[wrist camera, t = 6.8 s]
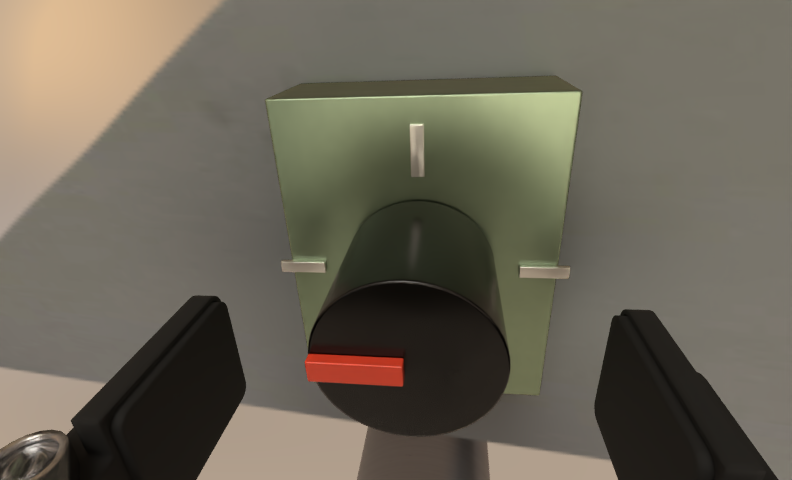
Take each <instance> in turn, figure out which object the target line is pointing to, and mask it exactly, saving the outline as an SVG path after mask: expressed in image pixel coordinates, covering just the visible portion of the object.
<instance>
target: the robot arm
mask: <svg viewBox="0 0 792 480" xmlns="http://www.w3.org/2000/svg"><path fill="white" fill-rule="evenodd" d="M245 390H246V381H245V377H244V373H243V369H242V365H241V361H240V357H239V353H238V349H237V345H236V341H235V337H234V333H233V329H232V325H231V321H230V317H229V313H228V308H227V306H226V304H225V303H224V302H221V300H220V299H219V298H218V297H216V296H193V297H191V298H190V299H189V300H188V301H187V302H186V303H185V304H184V305H183V306H182V307H181V308H180V309H179V310H178V311H177V312H176V313H175V314H174V315H173V316H172V317H171V318H170V319H169V320H168V321H167V322H166V323H165V324H164V325H163V326H162V328H161V329H160V330H159V331H158V332H157V333H156V334H155V335H154V336H153V337H152V338H151V339H150V340H149V341H148V342H147V343H146V344H145V345H144V346H143V347H142V348H141V349H140V350H139V351H138V352H137V353H136V354H135V355H134V356H133V357H132V358H131V359H130V360H129V361H128V362H127V363H126V364H125V365H124V366H123V367H122V368H121V369H120V370H119V371H118V372H117V374H116V375H115V376H114V377H113V378H112V379H111V380H110V381H109V382H108V383H107V384H106V385H105V386H104V387H103V388H102V389H101V390H100V391H99V392H98V393H97V394H96V395H95V396H94V397H93V398H92V399H91V400H90V401H89V402H88V403H87V404H86V405H85V406H84V407H83V408H82V409H81V410H80V411H79V412H78V413H77V414H76V416H75V417H74V418H72V420H71V422H72V424H73V426H74V428H73V429H72V430H71V431H70V432H69V433H68V434H67V435H65V434H64V433H63V432H61V431H56V430H46V431H39V432H35V433H32V434H29V435H26V436H24V437H22V438H19V439H17V440H15V441H13V442H11V443H9V444H8V445H6V446H5V447H3V448H2V449H0V480H196V479H197V477H198V476H199V474H200V472H201V470H202V469H203V467H204V465H205V463H206V462H207V460H208V458H209V456H210V455H211V452H212V451H213V449H214V447H215V446H216V444H217V442H218V440H219V439H220V437H221V435H222V433H223V432H224V430H225V428H226V427H227V425H228V423H229V421H230V420H231V418H232V416H233V414H234V413H235V411H236V409H237V407H238V406H239V404H240V402H241V400H242V399H243V397H244V394H245ZM595 416H596V420H597V423H598V425H599V428H600V431H601V434H602V436H603V439H604V442H605V445H606V447H607V450H608V453H609V456H610V458H611V461H612V464H613V466H614V469H615V472H616V475H617V477H618V480H778V479H777V477H776V476H775V474H774V473H773V472H772V470H771V469H770V467H769V466H768V465H767V463H766V462H765V461H764V459H763V458H762V456H761V455H760V454H759V452H758V451H757V449H756V448H755V447H754V445H753V444H752V442H751V441H750V440H749V438H748V437H747V435H746V434H745V433H744V431H743V430H742V429H741V427H740V426H739V424H738V423H737V422H736V420H735V419H734V417H733V416H732V415H731V413H730V412H729V410H728V409H727V408H726V406H725V405H724V404H723V402H722V401H721V399H720V398H719V397H718V395H717V394H716V392H715V391H714V390H713V388H712V387H711V385H710V384H709V383H708V381H707V380H706V379H705V378H704V377H703V376H702V375H701V374H700V373H698V372H696V371H695V369H694V368H693V367H692V365H691V364H690V362H689V361H688V360H687V358H686V357H685V355H684V354H683V352H682V351H681V350H680V348H679V347H678V345H677V344H676V343H675V341H674V340H673V338H672V337H671V335H670V334H669V333H668V331H667V330H666V328H665V327H664V326H663V324H662V323H661V321H660V320H659V318H658V317H657V316H656V314H655V313H654V312H653V311H651V310H626V309H625V310H623V311H622V312H621V315H620V316H614V317H613V319H612V322H611V327H610V332H609V336H608V341H607V346H606V351H605V356H604V360H603V365H602V370H601V375H600V380H599V384H598V389H597V394H596V399H595Z"/></svg>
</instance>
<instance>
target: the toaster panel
mask: <svg viewBox="0 0 792 480" xmlns="http://www.w3.org/2000/svg"><path fill="white" fill-rule="evenodd" d="M581 100H582V91H581V90H579V89H578V88H576V87H574V86H573V85H571V84H569V83H568V82H566V81H564V80H562V79H561V78H559V77H557V76H532V77H499V78H467V79H434V80H401V81H369V82H336V83H304V84H299V85H297V86H294V87H292V88H290V89H288V90H285V91H283V92H281V93H279V94H276V95H274V96H272V97H269V98H267V99H266V100H265V103H266V109H267V114H268V120H269V126H270V132H271V138H272V143H273V149H274V155H275V161H276V167H277V173H278V178H279V184H280V190H281V196H282V202H283V207H284V213H285V219H286V225H287V231H288V236H289V242H290V248H291V254H292V260H282V261H281V265H282V271H283V272H295V277H296V283H297V289H298V295H299V300H300V306H301V312H302V318H303V324H304V329H305V335H306V341H307V347H308V342H309V337H310V333H311V330H312V327H313V325H314V323H315V321H316V318H317V316H318V314H319V312H320V310H321V307H322V305H323V303H324V301H325V299H326V297H327V294H328V292H329V290H330V288H331V286H332V283H333V281H334V279H335V277H336V275H337V272H338V270H339V268H340V266H341V264H342V261H343V259H344V257H345V255H346V253H347V250H348V248H349V246H350V244H351V242H352V240H353V237H354V235H355V234H356V232H357V231H358V229H359V228H360V227H361V225H362V224H363V223H364V222H365V221H366V220H367V219H369V218H370V217H371V216H372V215H374V214H375V213H377V212H378V211H380V210H382V209H384V208H386V207H388V206H392V205H395V204H398V203H403V202H411V201H425V202H433V203H438V204H442V205H445V206H448V207H450V208H453V209H455V210H457V211H459V212H460V213H462V214H464V215H465V216H467V217H468V218H469V219H470V220H472V221H473V222H474V223H475V224H476V225H477V226H478V227H479V228H480V229H481V230H482V232H483V233H484V235H485V236H486V238H487V240H488V242H489V244H490V246H491V249H492V252H493V255H494V261H495V267H496V274H497V280H498V286H499V292H500V298H501V304H502V310H503V316H504V323H505V329H506V335H507V341H508V347H509V353H510V359H511V370H510V376H509V381H508V384H507V386H506V389H505V391H504V394H521V395H539V394H540V387H541V380H542V373H543V366H544V359H545V352H546V345H547V338H548V331H549V324H550V317H551V310H552V303H553V296H554V289H555V282H556V279H569V274H570V267H569V266H558V261H559V254H560V247H561V240H562V233H563V226H564V219H565V212H566V205H567V198H568V191H569V184H570V177H571V170H572V163H573V156H574V149H575V142H576V135H577V128H578V121H579V114H580V107H581ZM315 383H316V382H315Z"/></svg>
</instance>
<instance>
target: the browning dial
mask: <svg viewBox="0 0 792 480" xmlns="http://www.w3.org/2000/svg"><path fill="white" fill-rule="evenodd" d="M305 367H306V373H307V378H308V381H312V382H316V383H317V384H318V386H319V388H320V389H321V391H322V392H323V393H324V395H325V396H326V397H327V398H328V399H329V400H330V401H331V402H332V403H333V404H334V405H335V406H336V407H337V408H338V409H339V410H341V411H342V412H343V413H344V414H346V415H348V416H349V417H351V418H352V419H354V420H356V421H358V422H360V423H361V424H363V425H366V426H368V427H371V428H373V429H376V430H379V431H383V432H386V433H391V434H396V435H403V436H417V437H423V436H435V435H441V434H446V433H450V432H454V431H457V430H460V429H462V428H465V427H467V426H469V425H471V424H473V423H475V422H476V421H478V420H479V419H481V418H482V417H484V416H485V415H486V414H487V413H488V412H489V411H491V410H492V409H493V407H494V406H495V405H496V404H497V403H498V401H499V400H500V398H501V397H502V395H503V393H504V391H505V389H506V386H507V384H508V381H509V376H510V370H511V359H510V353H509V347H508V341H507V335H506V329H505V323H504V316H503V310H502V304H501V298H500V292H499V286H498V280H497V274H496V267H495V261H494V255H493V252H492V249H491V246H490V244H489V242H488V240H487V238H486V236H485V235H484V233H483V232H482V230H481V229H480V228H479V227H478V226H477V225H476V224H475V223H474V222H473V221H472V220H470V219H469V218H468V217H467V216H465V215H464V214H462V213H460V212H459V211H457V210H455V209H453V208H450V207H448V206H445V205H442V204H438V203H433V202H425V201H411V202H403V203H398V204H395V205H392V206H388V207H386V208H384V209H382V210H380V211H378V212H377V213H375V214H374V215H372V216H371V217H370V218H369V219H367V220H366V221H365V222H364V223H363V224H362V225H361V227H360V228H359V229H358V231H357V232H356V234H355V235H354V237H353V240H352V242H351V244H350V246H349V248H348V250H347V253H346V255H345V257H344V259H343V261H342V264H341V266H340V268H339V270H338V272H337V275H336V277H335V279H334V281H333V283H332V286H331V288H330V290H329V292H328V294H327V297H326V299H325V301H324V303H323V305H322V307H321V310H320V312H319V314H318V316H317V318H316V321H315V323H314V325H313V327H312V330H311V333H310V337H309V342H308V356H307V358H306V360H305Z"/></svg>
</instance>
